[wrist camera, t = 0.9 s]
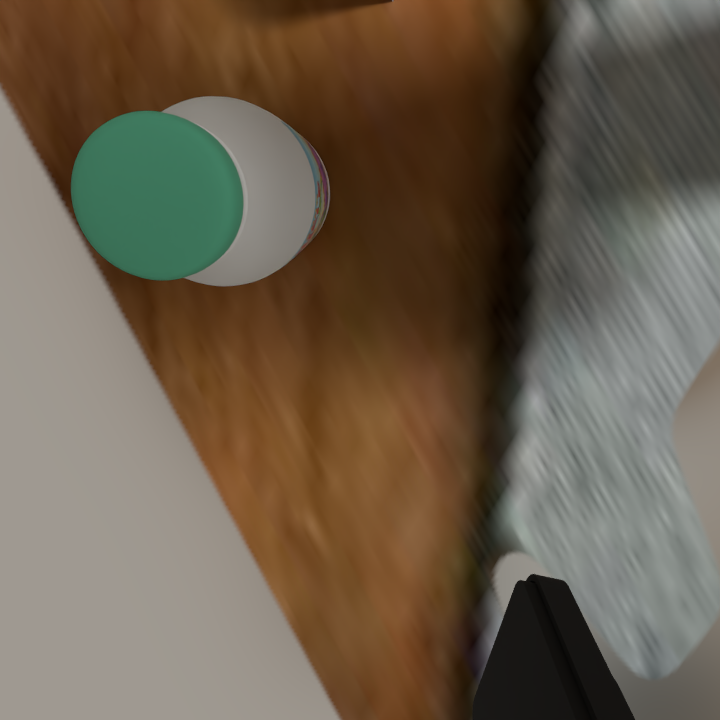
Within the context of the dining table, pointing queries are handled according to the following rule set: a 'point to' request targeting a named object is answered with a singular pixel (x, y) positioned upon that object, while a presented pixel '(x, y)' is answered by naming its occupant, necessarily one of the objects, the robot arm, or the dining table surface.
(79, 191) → the milk bottle
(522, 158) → the dining table surface
